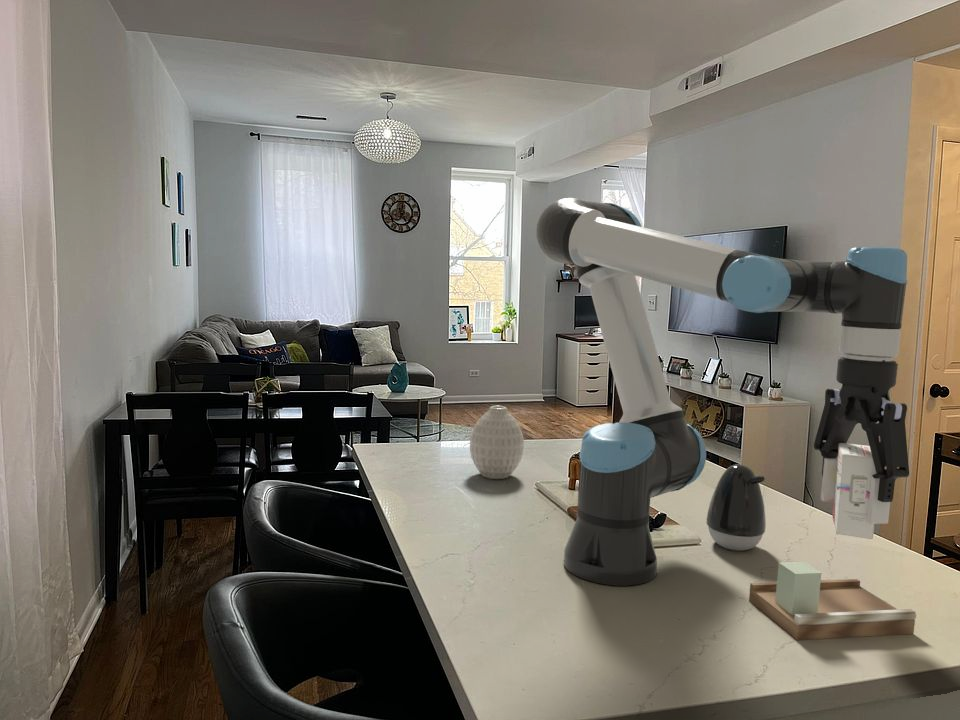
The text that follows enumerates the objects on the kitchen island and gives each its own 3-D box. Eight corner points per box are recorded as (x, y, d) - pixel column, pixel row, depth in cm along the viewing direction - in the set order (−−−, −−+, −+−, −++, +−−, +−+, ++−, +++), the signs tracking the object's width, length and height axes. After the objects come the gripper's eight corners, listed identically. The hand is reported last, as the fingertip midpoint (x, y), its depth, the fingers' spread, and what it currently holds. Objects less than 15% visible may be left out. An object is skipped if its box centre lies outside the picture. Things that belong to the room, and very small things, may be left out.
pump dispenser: (736, 559, 126) (743, 474, 125) (693, 539, 135) (699, 460, 134) (777, 552, 131) (784, 469, 129) (732, 533, 140) (739, 455, 138)
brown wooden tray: (797, 640, 98) (799, 617, 98) (748, 600, 110) (750, 580, 110) (914, 634, 101) (916, 612, 101) (854, 596, 113) (857, 576, 113)
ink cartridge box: (830, 517, 111) (839, 422, 109) (866, 522, 109) (876, 425, 107) (834, 534, 103) (844, 432, 101) (873, 540, 101) (884, 436, 99)
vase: (531, 475, 176) (535, 407, 174) (504, 486, 165) (508, 414, 163) (486, 465, 183) (489, 400, 181) (458, 476, 172) (460, 406, 170)
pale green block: (791, 615, 101) (795, 573, 100) (775, 602, 105) (778, 562, 104) (817, 614, 102) (821, 572, 101) (800, 601, 106) (803, 561, 105)
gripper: (954, 367, 93) (935, 537, 95) (840, 350, 114) (826, 488, 117) (902, 366, 92) (884, 538, 94) (796, 349, 113) (784, 489, 116)
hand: (852, 511), depth 105 cm, fingers closed on ink cartridge box, 9 cm apart
